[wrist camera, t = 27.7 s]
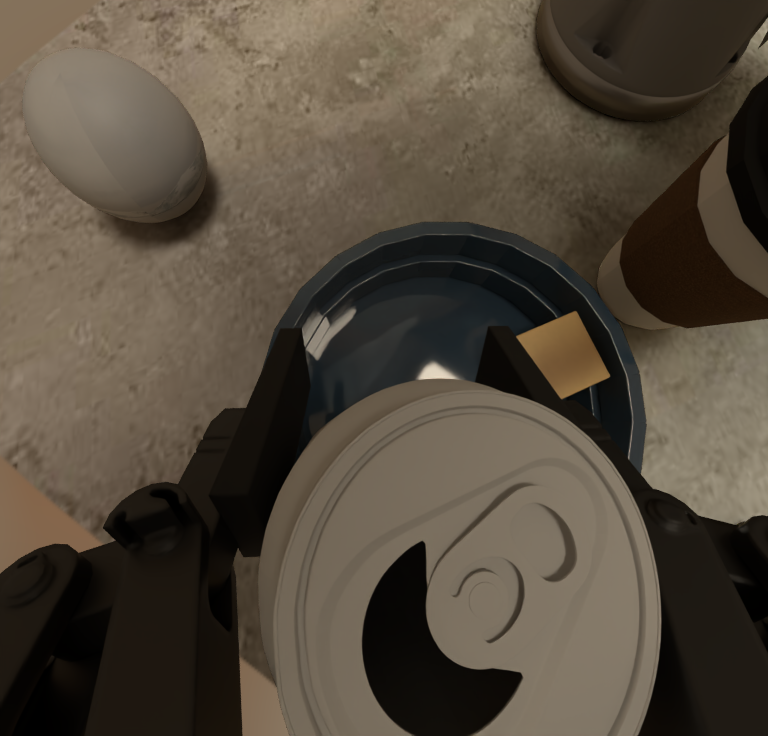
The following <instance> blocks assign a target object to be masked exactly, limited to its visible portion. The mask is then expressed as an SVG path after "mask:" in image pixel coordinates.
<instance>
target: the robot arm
mask: <svg viewBox="0 0 768 736" xmlns="http://www.w3.org/2000/svg"><path fill="white" fill-rule="evenodd" d="M767 18H768V0H542V3H541V5H540V8H539V11H538V16H537V25H536V29H537V39H538V44H539V48H540V51H541V54H542V56H543V59H544V61H545V63H546V65H547V67H548V68H549V70H550V71H551V73H552V74H553V76H554V77H555V78H556V79H557V81H558V82H559V83H560V84H561V85H562V86H563V87H564V88H565V89H566V90H567V91H568V92H569V93H570V94H571V95H573V96H574V97H575V98H577V99H578V100H579V101H581V102H582V103H584V104H586V105H587V106H589V107H591V108H593V109H595V110H597V111H599V112H602V113H604V114H607V115H610V116H613V117H617V118H621V119H626V120H632V121H656V120H663V119H667V118H671V117H674V116H677V115H679V114H682V113H684V112H686V111H688V110H689V109H691V108H693V107H694V106H695V105H697V104H698V103H699V102H700V101H701V100H702V99H703V98H704V97H705V96H706V95H707V94H709V93H710V92H711V91H712V90H713V89H714V88H715V87H716V86H717V85H718V84H719V83H720V82H721V81H722V80H723V79H724V78H725V77H726V76H727V75H729V74H730V72H731V71H732V70H733V69H734V67H735V66H736V64H737V63H738V61H739V60H740V58H741V56H742V55H743V53H744V52H745V50H746V48H747V46H748V44H749V42H750V40H751V38H752V37H753V36H754V34H755V33H756V32H757V31H758V29H759V28H760V27H761V26H762V24H763V23H764V22H765V20H766V19H767ZM767 40H768V32H767V33H766V35H765V37H764V39H763V41H762V43H761V45H760V46H759V48H760V47H761V46H762V45H763V44H764V43H765V42H766V41H767ZM759 48H758V49H759ZM475 383H479V384H482V385H486V386H489V387H492V388H494V389H497V390H499V391H502V392H504V393H508V394H513V395H517V396H520V397H523V398H526V399H529V400H531V401H534V402H536V403H539V404H541V405H543V406H545V407H547V408H549V409H551V410H553V411H555V412H556V413H558V414H560V415H561V416H563V417H565V418H566V419H568V420H569V421H570V422H572V423H573V424H574V425H575V426H577V427H578V428H579V429H580V430H582V431H583V432H584V433H585V434H586V435H587V436H589V437H590V438H591V439H592V440H593V441H594V442H595V444H596V445H597V446H598V447H599V448H600V449H601V450H602V451H603V452H604V454H605V455H606V456H607V457H608V458H609V460H610V461H611V462H612V464H613V465H614V466H615V468H616V469H617V471H618V472H619V474H620V475H621V477H622V478H623V480H624V482H625V483H626V485H627V486H628V488H629V490H630V492H631V494H632V496H633V498H634V500H635V502H636V504H637V507H638V509H639V511H640V513H641V516H642V518H643V521H644V524H645V527H646V530H647V532H648V536H649V539H650V543H651V546H652V550H653V554H654V559H655V563H656V568H657V574H658V581H659V589H660V600H661V642H660V652H659V661H658V667H657V673H656V679H655V683H654V687H653V692H652V696H651V700H650V703H649V706H648V709H647V713H646V716H645V719H644V721H643V724H642V726H641V729H640V732H639V734H638V736H768V516H764V515H761V516H754V517H751V518H750V519H749V520H747V521H746V522H744V523H743V524H742V525H740V526H737V525H733V524H729V523H725V522H721V521H717V520H713V519H709V518H705V517H701V516H698V515H697V514H696V513H695V512H694V511H692V510H691V509H690V508H689V507H688V506H687V505H686V504H685V503H683V502H682V501H680V500H678V499H677V498H675V497H673V496H672V495H670V494H667V493H665V492H662V491H659V490H657V489H653V488H652V487H651V486H650V485H649V484H648V483H647V482H646V480H645V479H644V478H643V477H642V475H641V474H640V473H639V472H638V470H637V469H636V468H635V466H634V465H633V464H632V463H631V461H630V460H629V459H628V458H627V456H626V455H625V454H624V453H623V451H622V450H621V449H620V448H619V446H618V445H617V444H616V443H615V441H614V440H611V436H610V435H609V434H608V433H607V431H606V430H605V429H602V425H601V424H600V423H599V421H598V420H597V419H596V417H595V416H594V415H593V414H592V412H590V411H589V410H588V409H586V408H585V407H584V406H582V405H581V404H580V403H578V402H577V401H576V400H562V399H561V398H560V397H559V395H558V394H557V393H556V391H555V390H554V388H553V387H552V386H551V384H550V383H549V382H548V380H547V379H546V377H545V376H544V375H543V373H542V372H541V370H540V369H539V368H538V366H537V365H536V364H535V362H534V361H533V359H532V358H531V357H530V355H529V354H528V352H527V351H526V350H525V348H524V347H523V346H522V344H521V343H520V341H519V340H518V339H517V337H516V336H515V334H514V333H513V332H512V330H511V329H510V328H509V326H488V329H487V334H486V338H485V342H484V346H483V350H482V354H481V359H480V363H479V367H478V371H477V375H476V380H475ZM310 388H311V383H310V377H309V371H308V364H307V358H306V352H305V346H304V340H303V334H302V328H280V330H279V333H278V335H277V337H276V340H275V342H274V344H273V347H272V349H271V351H270V354H269V356H268V358H267V361H266V363H265V365H264V368H263V370H262V372H261V375H260V377H259V379H258V382H257V384H256V386H255V388H254V391H253V393H252V395H251V398H250V400H249V402H248V405H247V407H246V408H230V409H224V410H223V411H222V412H221V413H220V414H219V415H218V416H217V417H216V418H214V419H213V420H212V421H211V423H210V425H209V426H208V428H207V430H206V432H205V434H204V436H203V440H201V441H200V443H199V445H198V447H197V449H196V453H194V455H193V457H192V458H191V460H190V462H189V464H188V466H187V468H186V470H185V472H184V474H183V475H182V477H181V479H180V481H179V483H178V484H174V483H169V482H162V483H156V484H151V485H149V486H146V487H144V488H141V489H139V490H137V491H135V492H134V493H132V494H131V495H129V496H128V497H127V498H125V499H124V500H122V501H121V502H120V503H119V504H118V505H117V507H116V508H115V509H114V510H113V511H112V512H111V513H110V514H109V516H108V518H107V520H106V522H105V524H104V526H103V529H104V530H105V531H107V532H108V533H109V534H110V535H111V536H112V537H113V538H114V539H115V540H116V541H114V542H111V543H108V544H105V545H102V546H99V547H96V548H93V549H90V550H86V551H83V552H81V553H78V552H77V551H76V550H74V549H73V548H72V547H70V546H69V545H68V544H52V545H49V546H45V547H42V548H39V549H36V550H34V551H33V552H31V553H29V554H27V555H25V556H23V557H21V558H20V559H18V560H17V561H16V562H14V563H13V564H12V565H11V566H9V567H8V568H7V569H5V570H4V571H3V572H2V573H1V574H0V736H242V715H241V714H242V713H241V690H240V664H239V640H238V615H237V591H236V575H235V571H234V567H233V561H234V558H235V555H236V552H237V548H239V550H240V552H241V554H242V555H243V557H256V556H261V550H262V545H263V540H264V535H265V531H266V527H267V524H268V521H269V518H270V515H271V512H272V510H273V507H274V504H275V501H276V499H277V496H278V494H279V492H280V490H281V488H282V486H283V484H284V482H285V480H286V479H287V477H288V475H289V473H290V471H291V470H292V468H293V466H294V462H295V458H296V453H297V448H298V444H299V439H300V434H301V430H302V425H303V420H304V416H305V411H306V406H307V402H308V397H309V393H310Z"/></svg>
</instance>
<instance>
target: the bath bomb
mask: <svg viewBox="0 0 768 736" xmlns="http://www.w3.org/2000/svg"><path fill="white" fill-rule="evenodd" d="M22 111H23V116H24V121H25V126H26V129H27V132H28V135H29V137H30V139H31V141H32V143H33V145H34V147H35V149H36V151H37V153H38V155H39V156H40V158H41V160H42V161H43V162H44V164H45V165H46V166H47V167H48V169H49V170H50V171H51V173H52V174H53V175H54V176H55V177H56V178H57V179H58V180H59V181H60V182H61V183H62V184H63V185H64V186H65V187H66V188H67V189H69V190H70V191H71V192H72V193H73V194H74V195H76V196H77V197H79V198H80V199H82V200H83V201H85V202H86V203H88V204H90V205H91V206H93V207H94V208H96V209H98V210H100V211H102V212H105V213H107V214H110V215H112V216H115V217H118V218H120V219H124V220H129V221H134V222H141V223H157V222H163V221H167V220H170V219H173V218H176V217H178V216H180V215H182V214H184V213H185V212H187V211H188V210H189V209H190V208H192V206H193V205H194V204H195V203H196V202H197V200H198V199H199V197H200V195H201V193H202V191H203V189H204V186H205V183H206V174H207V159H206V153H205V148H204V144H203V141H202V138H201V136H200V133H199V131H198V129H197V127H196V125H195V123H194V120H193V119H192V117H191V116H190V114H189V113H188V111H187V110H186V108H185V107H184V106H183V104H182V103H181V102H180V100H179V99H178V98H177V97H176V96H175V95H174V94H173V93H172V92H171V91H170V90H169V89H168V88H167V87H166V86H165V85H164V84H163V83H162V82H161V81H160V80H159V79H158V78H157V77H155V76H154V75H152V74H151V73H149V72H148V71H146V70H145V69H143V68H142V67H140V66H139V65H137V64H136V63H134V62H132V61H130V60H127V59H125V58H122V57H120V56H118V55H115V54H113V53H110V52H107V51H103V50H98V49H89V48H68V49H63V50H60V51H56V52H54V53H52V54H50V55H48V56H46V57H45V58H43V59H42V60H40V61H39V62H38V63H37V64H36V65H35V66H34V67H33V69H32V70H31V72H30V73H29V75H28V77H27V80H26V82H25V87H24V92H23V97H22Z"/></svg>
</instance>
